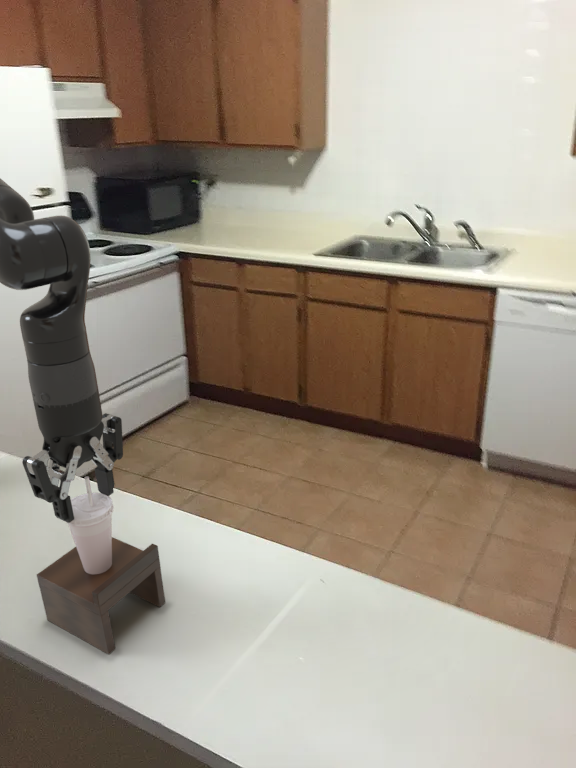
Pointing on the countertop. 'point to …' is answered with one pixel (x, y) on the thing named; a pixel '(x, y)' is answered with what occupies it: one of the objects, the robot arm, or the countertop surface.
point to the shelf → (99, 590)
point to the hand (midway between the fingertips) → (86, 505)
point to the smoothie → (93, 529)
